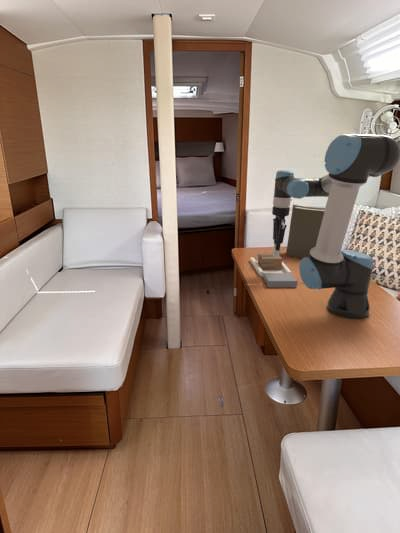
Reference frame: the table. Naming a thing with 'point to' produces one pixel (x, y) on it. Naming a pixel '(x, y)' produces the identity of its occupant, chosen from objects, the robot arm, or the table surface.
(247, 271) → the table surface
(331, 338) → the table surface
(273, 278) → the plinth
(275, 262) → the block
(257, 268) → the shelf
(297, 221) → the book
